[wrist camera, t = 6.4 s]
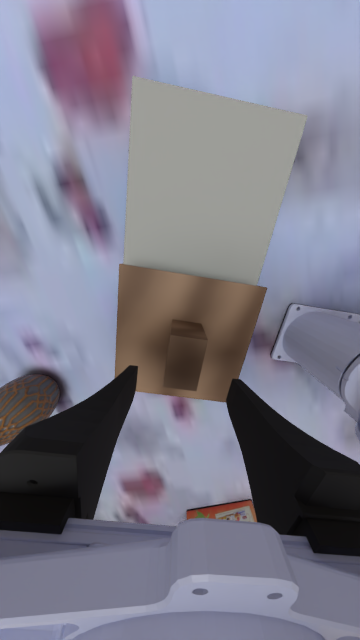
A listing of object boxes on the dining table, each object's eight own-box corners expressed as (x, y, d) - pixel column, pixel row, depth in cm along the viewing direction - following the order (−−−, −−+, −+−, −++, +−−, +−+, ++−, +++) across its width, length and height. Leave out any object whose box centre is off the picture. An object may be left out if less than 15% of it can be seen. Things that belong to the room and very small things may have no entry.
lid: (263, 286, 17) (295, 294, 12) (228, 397, 21) (242, 434, 16) (122, 263, 16) (99, 263, 11) (116, 384, 20) (98, 418, 16)
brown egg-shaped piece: (14, 366, 24) (-74, 420, 16) (63, 366, 24) (1, 420, 16) (27, 404, 26) (-43, 469, 18) (72, 404, 26) (22, 469, 18)
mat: (303, 120, 16) (307, 115, 15) (253, 288, 21) (255, 289, 20) (134, 82, 15) (132, 76, 14) (124, 267, 20) (123, 267, 19)
